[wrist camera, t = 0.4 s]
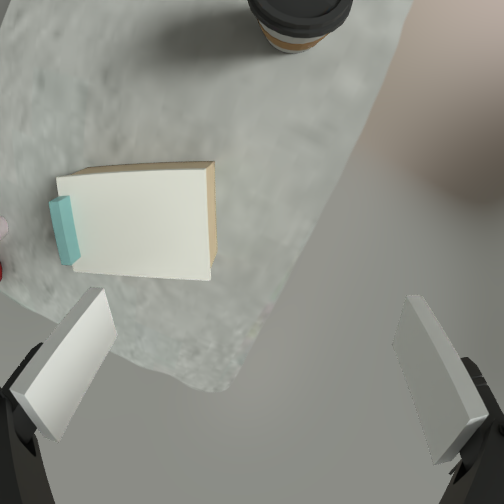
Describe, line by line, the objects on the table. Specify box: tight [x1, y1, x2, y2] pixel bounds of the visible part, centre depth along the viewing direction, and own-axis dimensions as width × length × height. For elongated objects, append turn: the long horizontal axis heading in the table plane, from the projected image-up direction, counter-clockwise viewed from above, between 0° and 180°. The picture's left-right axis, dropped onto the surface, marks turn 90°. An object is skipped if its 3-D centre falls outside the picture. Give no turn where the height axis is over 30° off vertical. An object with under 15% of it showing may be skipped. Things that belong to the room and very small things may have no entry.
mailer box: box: [71, 161, 217, 269], centre depth 38 cm, size 12×18×6 cm, turn 89°
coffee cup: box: [248, 0, 353, 53], centre depth 23 cm, size 8×8×15 cm
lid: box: [49, 168, 211, 281], centre depth 33 cm, size 13×19×3 cm
